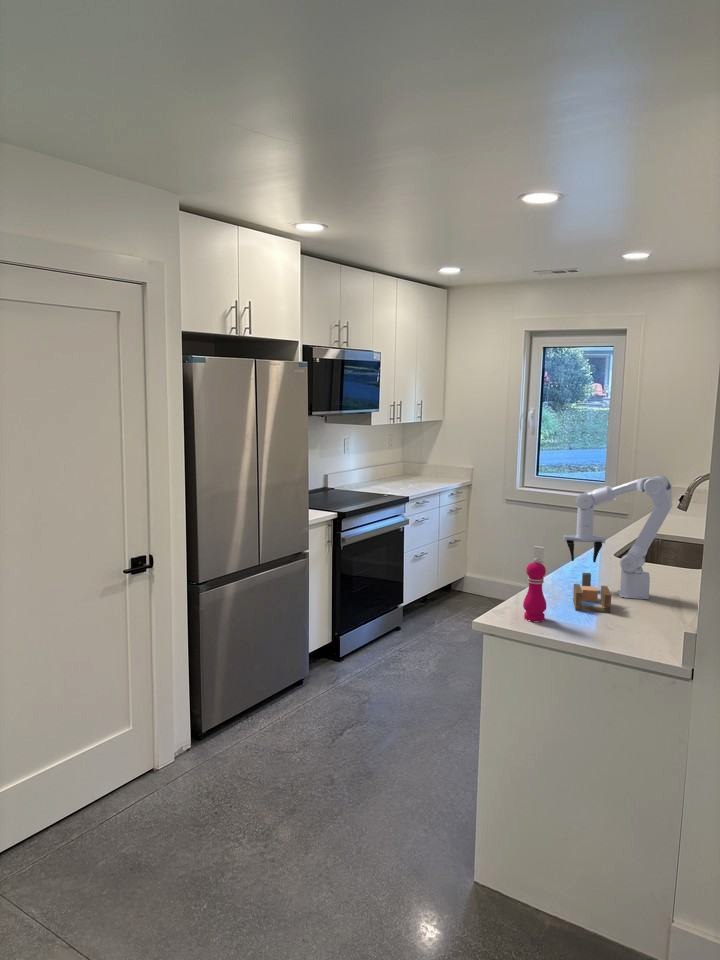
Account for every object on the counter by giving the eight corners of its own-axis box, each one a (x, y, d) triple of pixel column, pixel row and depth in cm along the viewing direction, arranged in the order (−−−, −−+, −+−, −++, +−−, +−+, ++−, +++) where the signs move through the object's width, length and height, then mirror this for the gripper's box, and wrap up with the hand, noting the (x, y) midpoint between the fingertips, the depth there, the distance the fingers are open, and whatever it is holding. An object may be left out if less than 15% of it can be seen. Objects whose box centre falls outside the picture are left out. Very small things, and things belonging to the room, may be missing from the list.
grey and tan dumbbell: (592, 589, 250) (593, 573, 249) (597, 602, 235) (598, 585, 234) (578, 588, 251) (579, 572, 250) (582, 601, 236) (582, 584, 235)
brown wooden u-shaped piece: (606, 602, 234) (607, 585, 233) (610, 612, 223) (611, 595, 223) (573, 600, 237) (573, 583, 236) (575, 610, 226) (576, 592, 225)
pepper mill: (533, 624, 213) (535, 561, 210) (517, 617, 219) (519, 556, 216) (550, 620, 216) (553, 559, 213) (535, 613, 222) (537, 554, 220)
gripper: (604, 523, 252) (602, 559, 254) (563, 522, 255) (562, 557, 257) (606, 527, 245) (605, 564, 247) (564, 525, 249) (563, 561, 250)
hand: (583, 561), depth 252 cm, fingers open, 7 cm apart
